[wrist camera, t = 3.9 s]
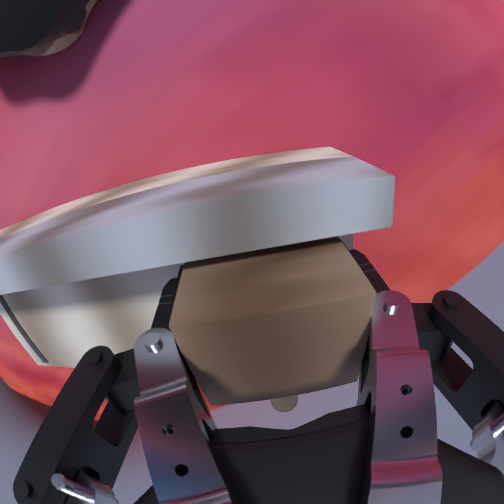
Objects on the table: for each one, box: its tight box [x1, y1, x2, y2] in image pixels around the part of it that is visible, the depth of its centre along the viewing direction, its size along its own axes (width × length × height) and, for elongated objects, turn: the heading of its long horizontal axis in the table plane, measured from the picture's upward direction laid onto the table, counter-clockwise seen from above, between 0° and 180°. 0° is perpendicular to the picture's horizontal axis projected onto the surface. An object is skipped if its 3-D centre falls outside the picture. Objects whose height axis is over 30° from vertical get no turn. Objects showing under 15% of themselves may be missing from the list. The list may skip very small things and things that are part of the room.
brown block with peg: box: [169, 236, 376, 412], centre depth 10 cm, size 5×8×5 cm, turn 9°
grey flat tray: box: [0, 147, 395, 368], centre depth 12 cm, size 22×10×6 cm, turn 99°
